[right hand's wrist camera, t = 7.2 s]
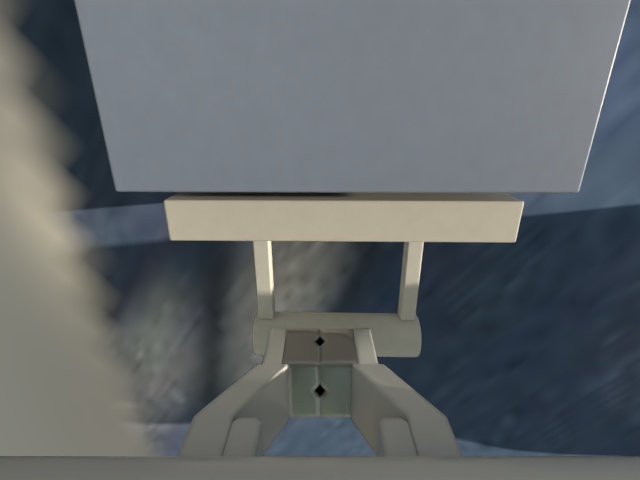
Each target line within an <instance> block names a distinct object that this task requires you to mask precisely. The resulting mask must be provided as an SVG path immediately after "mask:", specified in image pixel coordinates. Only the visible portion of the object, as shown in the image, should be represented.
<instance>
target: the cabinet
mask: <svg viewBox="0 0 640 480" xmlns="http://www.w3.org/2000/svg"><path fill="white" fill-rule="evenodd" d="M630 1H631V0H74V2H75V7H76V11H77V16H78V21H79V25H80V30H81V34H82V39H83V44H84V48H85V53H86V57H87V62H88V66H89V71H90V76H91V80H92V85H93V89H94V94H95V99H96V103H97V108H98V112H99V117H100V121H101V126H102V131H103V135H104V140H105V144H106V149H107V154H108V158H109V163H110V167H111V172H112V176H113V181H114V186H115V190H116V191H118V192H334V193H578V192H579V189H580V186H581V182H582V178H583V175H584V171H585V167H586V163H587V160H588V156H589V152H590V149H591V145H592V141H593V138H594V134H595V130H596V127H597V123H598V119H599V116H600V112H601V108H602V104H603V101H604V97H605V93H606V90H607V86H608V82H609V79H610V75H611V71H612V68H613V64H614V60H615V57H616V53H617V49H618V46H619V42H620V38H621V34H622V31H623V27H624V23H625V20H626V16H627V12H628V9H629V5H630Z"/></svg>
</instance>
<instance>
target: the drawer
mask: <svg viewBox="0 0 640 480" xmlns="http://www.w3.org/2000/svg"><path fill="white" fill-rule="evenodd" d="M523 205H524V202H523V201H521V200H519V199H517V198H515V197H513V196H511V195H509V194H506V193H334V192H178V193H176V194H174V195H173V196H171V197H169V198H167V199H165V200H164V207H165V213H166V219H167V225H168V231H169V237H170V240H182V241H253V252H254V265H255V278H256V291H257V304H258V313H257V314H256V316H255V319H254V324H253V332H252V345H253V351H254V354H255V355H264V352H265V348H266V344H267V339H268V335H269V331H270V329H271V328H287V329H288V328H306V329H352V328H369V329H370V331H371V335H372V340H373V344H374V348H375V353H376V357H418V356H419V354H420V351H421V343H422V337H421V327H420V322H419V319H418V317H417V315H416V306H417V297H418V288H419V279H420V270H421V262H422V253H423V244H424V242H508V243H514V242H515V241H516V238H517V233H518V228H519V224H520V219H521V214H522V210H523ZM271 241H345V242H404V250H403V261H402V272H401V283H400V294H399V305H398V313H325V312H275V301H274V283H273V266H272V248H271Z"/></svg>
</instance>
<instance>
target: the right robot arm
mask: <svg viewBox="0 0 640 480" xmlns="http://www.w3.org/2000/svg"><path fill="white" fill-rule="evenodd" d="M313 416H326V417H350V419H351V420H352V422H353V423H354V424H355V426H356V427H357V429H358V430H359V431H360V433H361V434H362V436H363V437H364V438H365V440H366V441H367V443H368V444H369V445H370V447H371V448H372V449H373V451H374V452H375V454H376V456H264V454H265V452H266V451H267V450H268V448H269V447H270V446H271V444H272V443H273V441H274V440H275V439H276V437H277V436H278V435H279V433H280V432H281V430H282V429H283V428H284V426H285V425H286V423H287V422H288V421H289V419H290V417H313ZM0 480H640V456H462V453H461V451H460V448H459V446H458V443H457V441H456V439H455V436H454V434H453V431H452V429H451V426H450V424H449V422H448V419H447V417H446V416H445V415H444V414H443V413H442V412H440V411H439V410H438V409H437V408H436V407H434V406H433V405H432V404H431V403H429V402H428V401H427V400H426V399H425V398H423V397H422V396H421V395H420V394H419V393H417V392H416V391H415V390H414V389H413V388H411V387H410V386H409V385H408V384H407V383H405V382H404V381H403V380H402V379H401V378H399V377H398V376H397V375H396V374H395V373H393V372H392V371H391V370H390V369H388V368H387V367H386V366H385V365H384V364H378V361H377V357H376V353H375V348H374V344H373V340H372V335H371V331H370V329H369V328H352V329H306V328H288V329H287V328H271V329H270V331H269V335H268V339H267V344H266V348H265V352H264V357H263V361H262V364H256V365H255V366H254V367H253V368H252V369H250V370H249V371H248V372H247V373H245V374H244V375H243V376H242V377H241V378H239V379H238V380H237V381H236V382H235V383H233V384H232V385H231V386H230V387H228V388H227V389H226V390H225V391H224V392H222V393H221V394H220V395H219V396H218V397H216V398H215V399H214V400H213V401H212V402H210V403H209V404H208V405H207V406H205V407H204V408H203V409H202V410H201V411H199V412H198V413H197V414H196V415H195V416H194V417H193V420H192V422H191V424H190V427H189V429H188V432H187V434H186V436H185V439H184V441H183V444H182V446H181V448H180V451H179V453H178V456H0Z"/></svg>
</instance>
